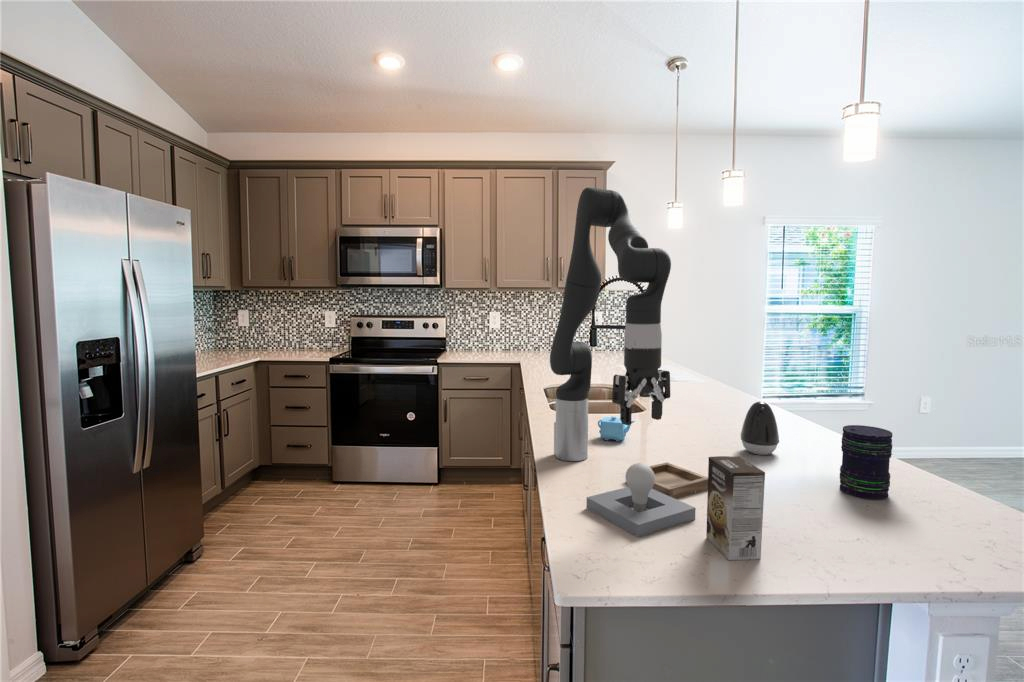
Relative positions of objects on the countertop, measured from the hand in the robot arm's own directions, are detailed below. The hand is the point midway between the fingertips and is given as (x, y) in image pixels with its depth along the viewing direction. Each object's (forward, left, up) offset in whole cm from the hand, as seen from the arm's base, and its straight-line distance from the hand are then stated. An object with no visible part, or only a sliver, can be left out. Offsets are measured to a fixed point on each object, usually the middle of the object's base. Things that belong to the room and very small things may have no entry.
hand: (641, 421), depth 111 cm
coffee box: (+20, +4, -20) cm, 29 cm away
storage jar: (+18, +54, -20) cm, 60 cm away
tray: (-9, +18, -20) cm, 28 cm away
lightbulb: (0, 0, -20) cm, 20 cm away
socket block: (0, 0, -20) cm, 20 cm away
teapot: (-46, +34, -20) cm, 61 cm away
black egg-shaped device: (-14, +61, -20) cm, 66 cm away
